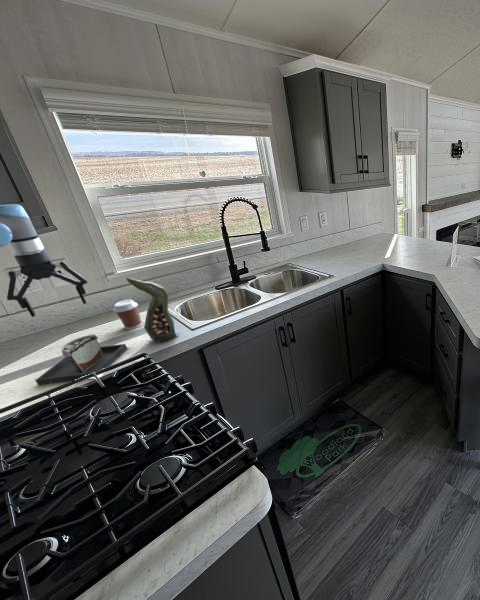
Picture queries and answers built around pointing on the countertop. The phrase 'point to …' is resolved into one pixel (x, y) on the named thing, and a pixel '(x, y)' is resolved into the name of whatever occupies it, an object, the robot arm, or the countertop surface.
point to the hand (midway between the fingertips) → (60, 308)
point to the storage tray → (68, 372)
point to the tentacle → (156, 311)
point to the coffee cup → (128, 313)
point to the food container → (83, 352)
